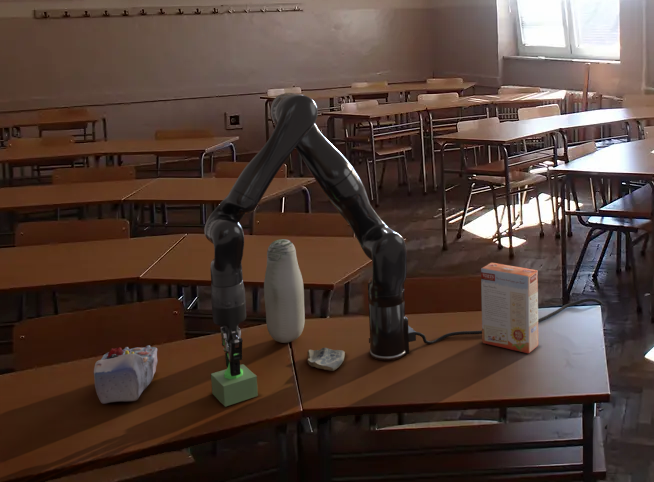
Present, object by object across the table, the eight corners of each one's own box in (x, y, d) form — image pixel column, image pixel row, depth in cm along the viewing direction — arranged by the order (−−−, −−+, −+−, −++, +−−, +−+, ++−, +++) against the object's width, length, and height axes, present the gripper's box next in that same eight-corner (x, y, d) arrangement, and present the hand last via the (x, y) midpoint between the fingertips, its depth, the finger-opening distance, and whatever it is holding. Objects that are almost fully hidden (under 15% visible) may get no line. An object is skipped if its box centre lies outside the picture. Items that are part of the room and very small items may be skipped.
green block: (244, 383, 200) (243, 363, 199) (258, 396, 193) (256, 376, 193) (212, 393, 195) (210, 373, 194) (225, 406, 189) (223, 386, 188)
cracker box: (539, 346, 217) (538, 269, 213) (528, 354, 212) (528, 276, 208) (492, 335, 224) (491, 260, 221) (481, 343, 219) (480, 267, 216)
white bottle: (272, 332, 229) (266, 235, 224) (309, 332, 229) (304, 234, 224) (263, 348, 219) (256, 246, 215) (301, 348, 219) (295, 245, 214)
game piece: (245, 375, 193) (243, 351, 192) (227, 380, 191) (225, 356, 190) (240, 368, 196) (238, 345, 195) (221, 373, 194) (220, 349, 193)
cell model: (87, 367, 186) (101, 333, 205) (91, 412, 188) (105, 374, 207) (148, 358, 189) (156, 326, 208) (152, 403, 191) (160, 367, 210)
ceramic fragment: (309, 346, 216) (346, 343, 214) (312, 358, 216) (348, 355, 214) (295, 365, 205) (333, 362, 203) (297, 376, 206) (335, 373, 204)
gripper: (252, 308, 186) (256, 379, 189) (238, 288, 199) (242, 355, 201) (218, 314, 183) (223, 387, 185) (206, 294, 195) (211, 362, 198)
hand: (233, 370), depth 193 cm, fingers open, 4 cm apart
